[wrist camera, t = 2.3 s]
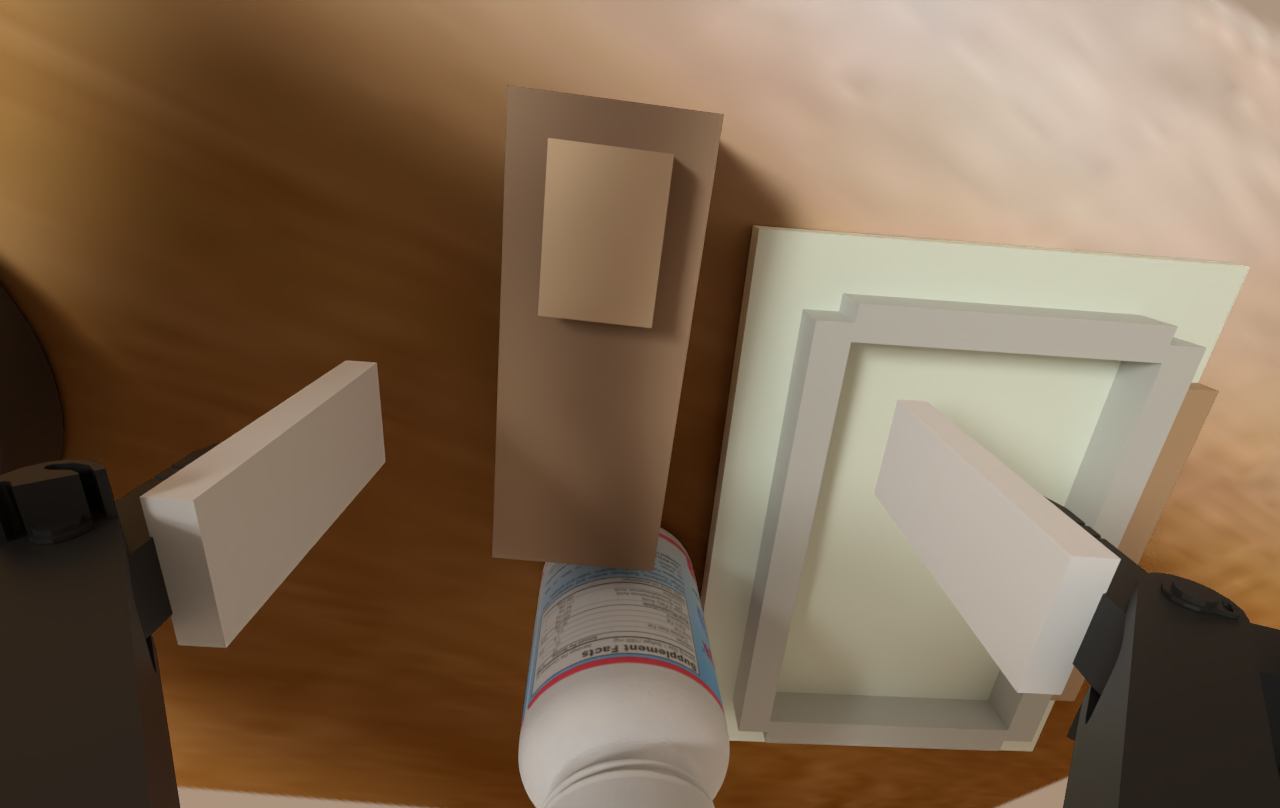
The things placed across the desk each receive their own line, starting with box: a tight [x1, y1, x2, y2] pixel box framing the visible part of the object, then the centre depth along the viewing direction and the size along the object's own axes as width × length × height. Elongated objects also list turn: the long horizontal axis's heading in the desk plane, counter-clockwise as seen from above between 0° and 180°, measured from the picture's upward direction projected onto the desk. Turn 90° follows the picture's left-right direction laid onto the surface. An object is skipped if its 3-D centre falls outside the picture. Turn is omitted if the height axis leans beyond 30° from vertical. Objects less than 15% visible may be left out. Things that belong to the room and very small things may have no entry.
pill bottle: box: [518, 528, 730, 808], centre depth 19 cm, size 6×6×11 cm
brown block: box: [492, 85, 724, 571], centre depth 18 cm, size 5×13×6 cm, turn 173°
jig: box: [700, 225, 1250, 751], centre depth 23 cm, size 16×22×2 cm
